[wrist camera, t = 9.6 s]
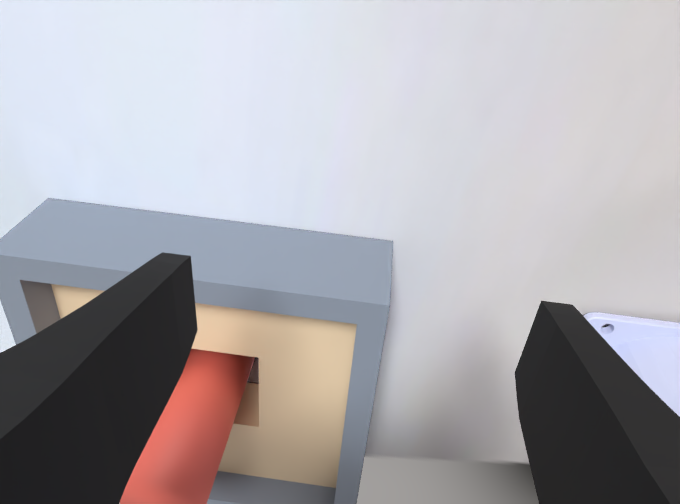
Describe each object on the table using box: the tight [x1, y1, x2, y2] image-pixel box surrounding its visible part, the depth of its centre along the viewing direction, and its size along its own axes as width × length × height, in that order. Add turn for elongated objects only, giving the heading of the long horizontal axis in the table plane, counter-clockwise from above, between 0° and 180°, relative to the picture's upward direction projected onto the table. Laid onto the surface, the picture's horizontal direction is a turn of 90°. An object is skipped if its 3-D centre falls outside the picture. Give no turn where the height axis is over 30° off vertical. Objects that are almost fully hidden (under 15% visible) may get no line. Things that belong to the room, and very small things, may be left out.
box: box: [0, 198, 393, 504], centre depth 24 cm, size 14×14×4 cm
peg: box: [120, 349, 255, 504], centre depth 22 cm, size 3×3×8 cm
